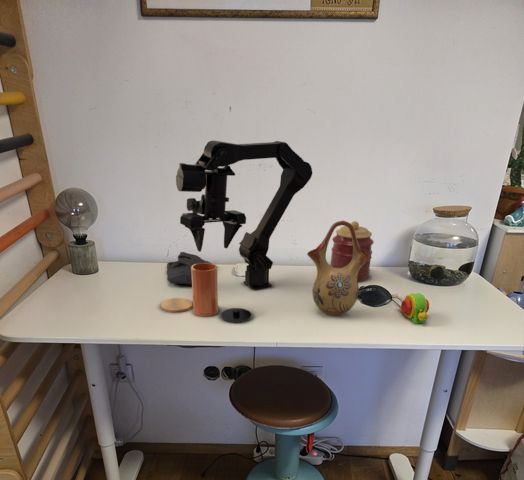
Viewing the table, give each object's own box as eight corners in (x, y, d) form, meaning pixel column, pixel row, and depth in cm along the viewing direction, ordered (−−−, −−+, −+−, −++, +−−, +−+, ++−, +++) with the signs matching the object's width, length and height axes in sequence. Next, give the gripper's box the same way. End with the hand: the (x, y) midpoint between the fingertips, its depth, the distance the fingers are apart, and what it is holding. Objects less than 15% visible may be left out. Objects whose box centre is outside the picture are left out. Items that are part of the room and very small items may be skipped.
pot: (201, 304, 130) (199, 261, 124) (222, 308, 128) (221, 264, 122) (189, 313, 125) (186, 268, 118) (210, 318, 122) (209, 272, 116)
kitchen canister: (375, 281, 150) (383, 225, 141) (337, 283, 147) (343, 227, 138) (359, 268, 161) (365, 216, 152) (323, 270, 158) (328, 217, 149)
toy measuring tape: (411, 327, 120) (416, 303, 117) (382, 298, 137) (386, 276, 134) (434, 326, 121) (439, 302, 118) (403, 297, 138) (407, 276, 135)
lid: (241, 308, 128) (241, 302, 128) (257, 319, 123) (257, 312, 122) (215, 314, 125) (215, 307, 124) (230, 325, 119) (230, 319, 118)
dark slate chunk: (160, 287, 140) (158, 272, 138) (168, 264, 159) (167, 250, 157) (211, 287, 141) (210, 272, 139) (213, 264, 160) (213, 250, 158)
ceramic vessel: (302, 318, 123) (309, 223, 111) (303, 305, 131) (309, 215, 119) (365, 322, 122) (379, 226, 110) (361, 308, 130) (374, 217, 118)
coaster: (184, 298, 134) (184, 296, 133) (197, 308, 128) (196, 306, 127) (156, 303, 130) (156, 301, 129) (168, 314, 124) (167, 312, 123)
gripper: (224, 186, 136) (221, 239, 143) (169, 187, 124) (168, 245, 131) (249, 193, 129) (244, 249, 136) (193, 195, 117) (191, 256, 124)
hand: (212, 249), depth 132 cm, fingers open, 9 cm apart
